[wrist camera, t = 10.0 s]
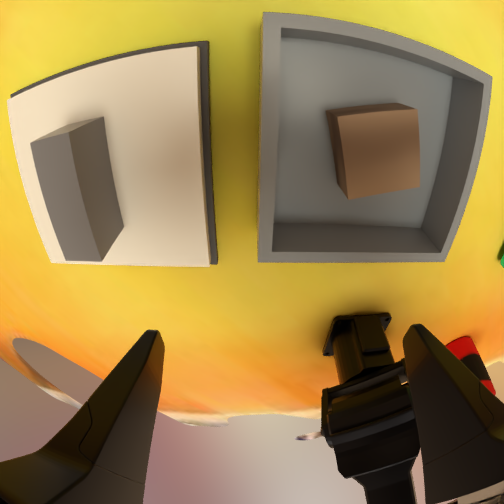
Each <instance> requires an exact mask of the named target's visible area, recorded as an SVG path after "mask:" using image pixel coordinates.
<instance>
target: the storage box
mask: <svg viewBox="0 0 504 504" xmlns="http://www.w3.org/2000/svg"><path fill="white" fill-rule="evenodd" d="M491 88H492V76H490V75H488V74H487V73H485V72H483V71H481V70H480V69H478V68H476V67H474V66H472V65H470V64H468V63H466V62H464V61H462V60H460V59H458V58H456V57H454V56H452V55H449V54H447V53H445V52H443V51H440V50H438V49H436V48H433V47H431V46H428V45H426V44H423V43H420V42H418V41H415V40H412V39H409V38H406V37H403V36H400V35H397V34H394V33H391V32H387V31H384V30H380V29H376V28H373V27H369V26H364V25H360V24H356V23H351V22H346V21H341V20H336V19H330V18H324V17H317V16H309V15H300V14H289V13H275V12H263V16H262V21H261V28H260V94H259V149H258V198H257V249H258V262H288V263H353V262H445V259H446V257H447V255H448V252H449V250H450V248H451V245H452V243H453V240H454V238H455V235H456V233H457V230H458V228H459V225H460V222H461V219H462V217H463V214H464V211H465V208H466V205H467V202H468V199H469V196H470V193H471V189H472V186H473V182H474V179H475V175H476V172H477V168H478V164H479V160H480V156H481V151H482V147H483V142H484V137H485V132H486V126H487V120H488V113H489V106H490V98H491ZM386 103H400V104H403V105H406V106H409V107H412V108H415V109H418V122H419V139H420V187H417V188H411V189H405V190H400V191H394V192H388V193H383V194H377V195H372V196H366V197H361V198H356V199H350V200H348V199H347V197H346V196H345V194H344V193H343V191H342V190H341V188H340V187H339V185H338V184H337V178H336V170H335V163H334V156H333V150H332V143H331V137H330V131H329V126H328V120H327V115H326V110H331V109H338V108H346V107H354V106H363V105H374V104H386Z"/></svg>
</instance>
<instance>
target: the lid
mask: <svg viewBox="0 0 504 504" xmlns="http://www.w3.org/2000/svg"><path fill="white" fill-rule="evenodd" d="M7 105H8V114H9V121H10V127H11V133H12V139H13V144H14V149H15V154H16V158H17V163H18V167H19V171H20V175H21V178H22V182H23V186H24V189H25V193H26V196H27V199H28V202H29V206H30V209H31V212H32V215H33V217H34V220H35V223H36V226H37V229H38V231H39V234H40V236H41V239H42V242H43V244H44V246H45V249H46V251H47V254H48V256H49V258H50V261H51V263H69V264H99V265H136V266H186V267H210V262H211V251H210V240H209V229H208V217H207V204H206V190H205V175H204V158H203V139H202V115H201V82H200V48H199V47H197V46H195V47H185V48H177V49H169V50H162V51H156V52H150V53H145V54H139V55H134V56H130V57H125V58H121V59H117V60H113V61H109V62H105V63H101V64H98V65H94V66H91V67H87V68H84V69H81V70H78V71H75V72H72V73H69V74H66V75H63V76H61V77H58V78H55V79H53V80H50V81H48V82H45V83H43V84H40V85H38V86H36V87H33V88H31V89H29V90H27V91H25V92H22V93H20V94H18V95H16V96H14V97H12V98H10V99H8V100H7Z"/></svg>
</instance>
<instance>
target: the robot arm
mask: <svg viewBox="0 0 504 504" xmlns="http://www.w3.org/2000/svg"><path fill="white" fill-rule="evenodd" d="M390 321H391V315H390V314H388V313H387V314H375V315H360V316H343V317H336V318H335V319H334V320H333V323H332V326H331V329H330V332H329V335H328V337H327V340H326V343H325V346H324V349H323V355H324V356H334V359H335V363H336V368H337V373H338V378H339V383H340V385H337V386H334V387H331V388H325V389H323V390H322V398H321V399H322V412H321V421H322V422H321V423H322V424H321V435H322V436H324V437H325V438H326V441H327V443H328V445H329V446H330V447H331V448H334V451H335V455H336V460H337V466H338V471H339V472H340V473H341V474H342V475H343V477H344V478H346V479H347V478H351V477H352V478H353V479H355V480H356V481H357V482H358V483H360V484H361V485H362V486H363V487H364V491H365V496H366V501H367V504H417V499H416V493H415V487H414V482H413V476H412V471H411V469H412V467H413V464H414V462H415V459H416V457H417V456H418V454H419V450H420V447H421V454H422V462H423V473H424V485H425V501H426V504H437V503H441V502H444V501H448V500H452V499H455V498H457V499H456V500H454V501H452V502H450V503H448V504H504V404H503V403H502V402H501V401H500V400H499V399H498V398H497V397H496V396H495V395H494V394H493V393H492V392H491V391H490V390H489V389H488V388H487V387H486V386H485V385H484V384H483V383H482V382H481V381H479V379H478V378H477V377H476V376H475V375H474V374H473V373H472V372H471V371H470V370H469V369H468V368H467V367H466V366H465V365H464V364H463V363H462V362H461V361H460V360H459V359H458V358H457V357H456V356H455V355H454V354H453V353H452V352H451V351H450V350H449V349H448V348H447V347H446V346H445V345H443V344H442V343H441V342H440V341H439V340H438V339H437V338H436V337H435V336H434V335H433V334H432V333H431V332H430V331H429V330H428V329H426V328H425V327H424V326H423V325H422V324H413V325H411V326H410V328H409V329H408V331H407V333H406V334H405V336H404V338H403V349H404V355H405V358H403V359H401V361H398V362H396V363H395V362H394V359H393V356H392V353H391V350H390V345H389V342H388V339H387V337H386V334H385V330H386V328H387V326H388V324H389V323H390ZM164 352H165V346H164V342H163V340H162V337H161V335H160V332H159V331H158V330H147V331H145V333H144V334H143V335H142V336H141V337H140V338H139V340H138V341H137V342H136V343H135V344H134V345H133V346H132V348H131V349H130V350H129V351H128V352H127V353H126V355H125V356H124V357H123V358H122V359H121V361H120V362H119V363H118V364H117V365H116V366H115V368H114V369H113V370H112V371H111V372H110V374H109V375H108V376H107V377H106V378H105V380H104V381H103V382H102V383H101V384H100V386H99V387H98V388H97V389H96V390H95V392H94V393H93V394H92V395H91V396H90V398H89V399H88V401H86V402H85V404H84V405H83V406H82V407H81V408H80V410H79V411H78V412H77V413H76V414H75V415H74V417H73V418H72V419H71V420H70V421H69V422H68V423H67V424H66V425H65V426H64V427H63V428H62V429H61V430H60V431H59V432H58V433H57V434H56V435H55V436H54V437H53V438H52V439H51V440H50V441H49V442H48V443H47V444H46V445H44V446H43V447H42V448H41V449H39V450H38V451H36V452H34V453H32V454H28V455H25V456H22V457H18V458H14V459H11V460H7V461H3V462H0V504H143V496H144V489H145V485H144V484H145V480H146V473H147V466H148V459H149V453H150V446H151V441H152V434H153V429H154V424H155V418H156V413H157V407H158V402H159V397H160V392H161V384H162V373H163V362H164ZM406 381H407V383H405V384H403V385H401V383H404V382H406Z"/></svg>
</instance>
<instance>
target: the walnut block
mask: <svg viewBox="0 0 504 504" xmlns="http://www.w3.org/2000/svg"><path fill="white" fill-rule="evenodd" d="M326 115H327V120H328V126H329V131H330V137H331V143H332V150H333V156H334V163H335V170H336V178H337V184H338V185H339V187H340V188H341V190H342V191H343V193H344V194H345V196H346V197H347V199H348V200H350V199H356V198H361V197H366V196H372V195H377V194H383V193H388V192H394V191H400V190H405V189H411V188H417V187H420V139H419V122H418V109H415V108H412V107H409V106H406V105H403V104H400V103H386V104H374V105H363V106H354V107H346V108H338V109H331V110H326Z"/></svg>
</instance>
